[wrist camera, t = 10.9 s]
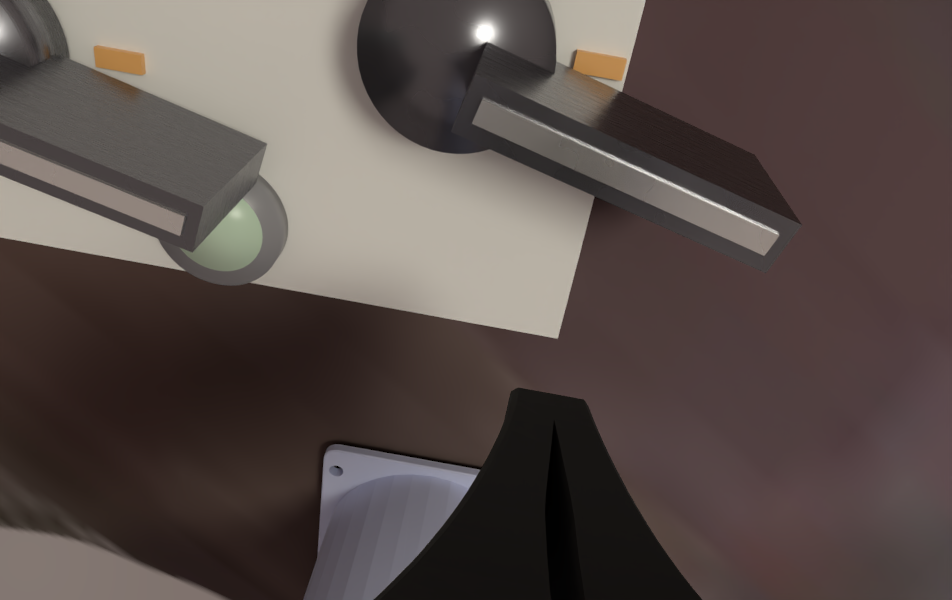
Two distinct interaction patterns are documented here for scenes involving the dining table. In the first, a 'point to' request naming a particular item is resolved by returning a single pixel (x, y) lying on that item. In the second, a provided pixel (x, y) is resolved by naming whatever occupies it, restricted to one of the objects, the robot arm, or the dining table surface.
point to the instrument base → (336, 163)
